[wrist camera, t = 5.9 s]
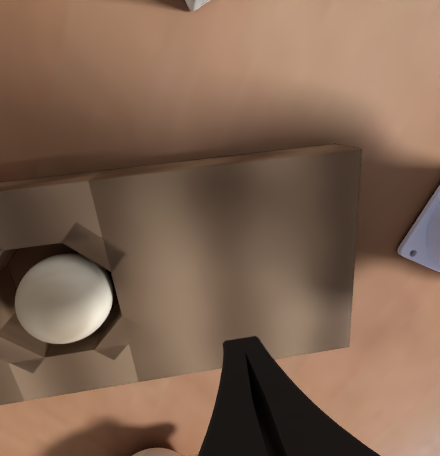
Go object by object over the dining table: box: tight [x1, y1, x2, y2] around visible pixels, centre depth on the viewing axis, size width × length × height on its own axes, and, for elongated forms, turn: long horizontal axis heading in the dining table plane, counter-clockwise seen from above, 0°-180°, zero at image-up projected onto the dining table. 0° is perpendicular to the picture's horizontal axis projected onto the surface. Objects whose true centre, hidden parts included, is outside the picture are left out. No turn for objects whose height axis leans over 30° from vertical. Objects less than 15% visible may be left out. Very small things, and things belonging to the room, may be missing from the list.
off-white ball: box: [15, 253, 113, 344], centre depth 18 cm, size 5×5×5 cm
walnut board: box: [0, 144, 362, 405], centre depth 19 cm, size 23×13×3 cm, turn 96°
